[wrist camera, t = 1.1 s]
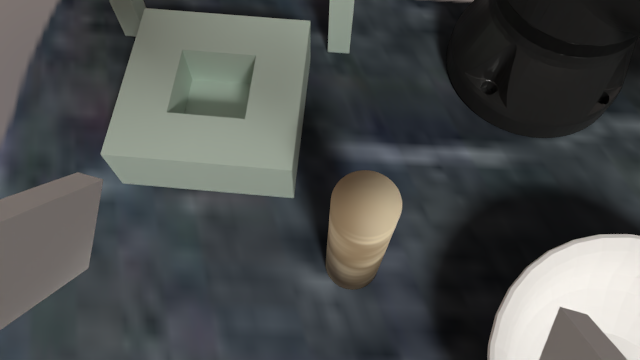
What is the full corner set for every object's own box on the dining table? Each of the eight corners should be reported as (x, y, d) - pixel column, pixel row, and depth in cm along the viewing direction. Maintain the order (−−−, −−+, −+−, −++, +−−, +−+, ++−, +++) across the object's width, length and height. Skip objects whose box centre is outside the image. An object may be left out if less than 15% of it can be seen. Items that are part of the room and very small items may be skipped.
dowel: (379, 241, 41) (402, 173, 30) (376, 292, 39) (401, 239, 29) (327, 236, 41) (333, 167, 30) (323, 287, 40) (327, 232, 29)
